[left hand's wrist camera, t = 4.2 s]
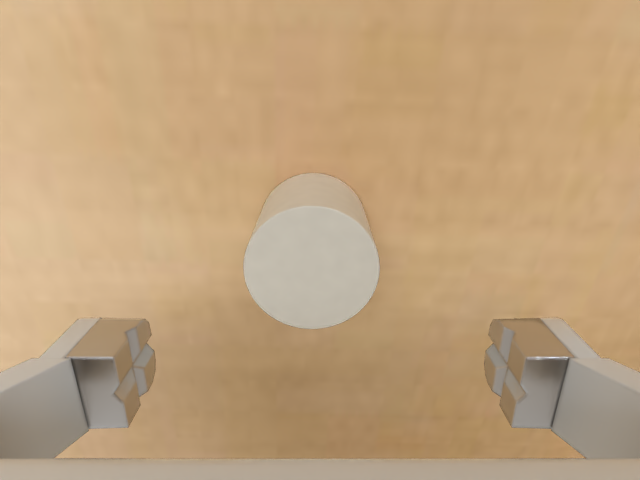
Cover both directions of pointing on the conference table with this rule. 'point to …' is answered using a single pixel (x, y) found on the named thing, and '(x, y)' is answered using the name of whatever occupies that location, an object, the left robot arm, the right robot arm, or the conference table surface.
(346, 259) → the canister
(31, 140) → the conference table surface
